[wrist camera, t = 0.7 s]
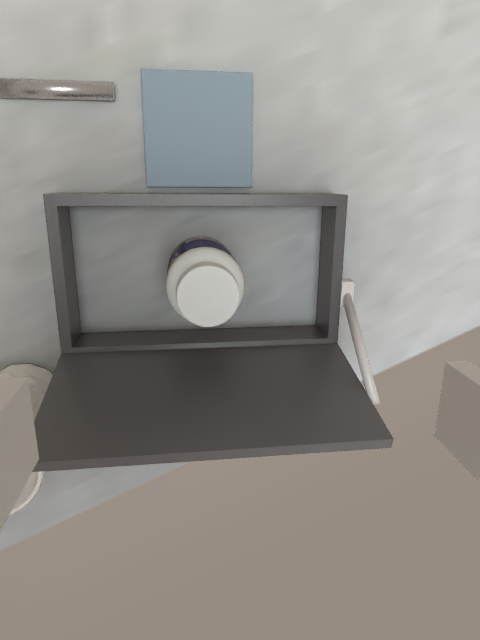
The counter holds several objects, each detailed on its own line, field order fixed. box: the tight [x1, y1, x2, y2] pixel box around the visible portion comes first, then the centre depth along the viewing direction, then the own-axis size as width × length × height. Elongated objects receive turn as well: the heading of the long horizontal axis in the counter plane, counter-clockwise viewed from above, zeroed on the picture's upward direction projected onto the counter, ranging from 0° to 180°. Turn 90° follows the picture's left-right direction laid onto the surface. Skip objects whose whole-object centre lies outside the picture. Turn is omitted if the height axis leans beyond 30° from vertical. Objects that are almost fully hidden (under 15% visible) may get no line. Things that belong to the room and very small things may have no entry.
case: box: [32, 193, 393, 472], centre depth 31 cm, size 22×15×14 cm, turn 90°
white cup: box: [0, 364, 53, 514], centre depth 34 cm, size 8×8×10 cm
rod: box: [0, 78, 115, 101], centre depth 32 cm, size 8×1×1 cm, turn 90°
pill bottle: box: [166, 237, 244, 327], centre depth 33 cm, size 5×5×10 cm
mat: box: [141, 69, 253, 187], centre depth 34 cm, size 8×8×1 cm
